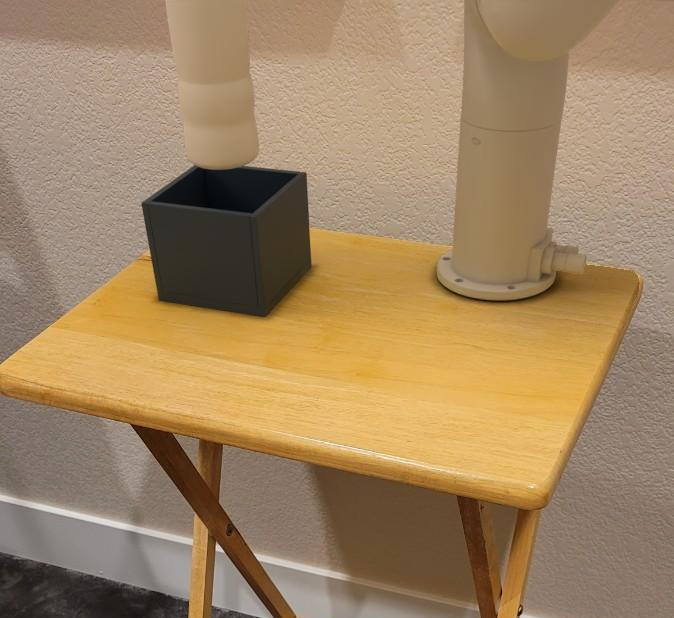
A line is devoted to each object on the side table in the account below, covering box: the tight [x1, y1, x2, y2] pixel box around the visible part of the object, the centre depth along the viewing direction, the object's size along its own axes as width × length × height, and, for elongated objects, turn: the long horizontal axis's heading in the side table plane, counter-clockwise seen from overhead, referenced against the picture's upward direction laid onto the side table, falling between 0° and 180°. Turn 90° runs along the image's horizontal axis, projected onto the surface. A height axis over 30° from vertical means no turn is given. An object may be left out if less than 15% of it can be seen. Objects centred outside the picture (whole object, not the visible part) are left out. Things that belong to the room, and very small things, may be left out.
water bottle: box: [164, 0, 260, 170], centre depth 77 cm, size 7×7×25 cm
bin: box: [140, 164, 313, 318], centre depth 92 cm, size 12×12×10 cm
